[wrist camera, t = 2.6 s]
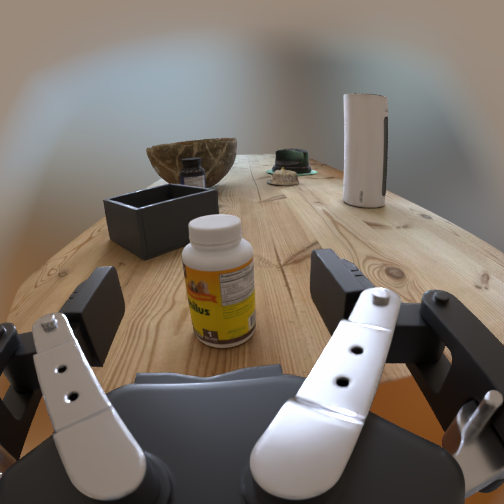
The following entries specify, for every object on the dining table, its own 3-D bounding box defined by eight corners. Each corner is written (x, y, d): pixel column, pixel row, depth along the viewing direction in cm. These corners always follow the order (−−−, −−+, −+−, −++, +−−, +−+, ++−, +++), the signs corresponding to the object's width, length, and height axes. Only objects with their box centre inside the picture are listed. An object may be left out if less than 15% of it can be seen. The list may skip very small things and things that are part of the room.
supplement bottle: (185, 324, 28) (169, 219, 24) (238, 308, 30) (231, 207, 26) (208, 360, 23) (191, 239, 19) (268, 337, 26) (265, 222, 22)
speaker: (379, 211, 62) (382, 91, 52) (336, 204, 67) (336, 90, 57) (388, 202, 70) (390, 97, 59) (349, 196, 75) (350, 96, 65)
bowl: (139, 202, 78) (133, 148, 73) (160, 185, 103) (156, 143, 97) (240, 194, 80) (237, 138, 74) (238, 178, 104) (236, 136, 99)
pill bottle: (185, 201, 76) (181, 158, 72) (208, 199, 76) (205, 156, 71) (179, 207, 70) (175, 160, 66) (205, 205, 70) (201, 158, 66)
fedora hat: (323, 168, 120) (313, 176, 104) (286, 186, 130) (271, 197, 114) (306, 136, 118) (293, 139, 101) (270, 156, 128) (251, 162, 111)
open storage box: (144, 260, 42) (135, 210, 39) (110, 239, 51) (103, 199, 48) (220, 233, 51) (217, 189, 48) (174, 219, 61) (170, 183, 58)
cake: (297, 181, 98) (298, 165, 96) (300, 187, 89) (301, 170, 87) (267, 179, 99) (268, 163, 96) (266, 185, 90) (267, 167, 87)
